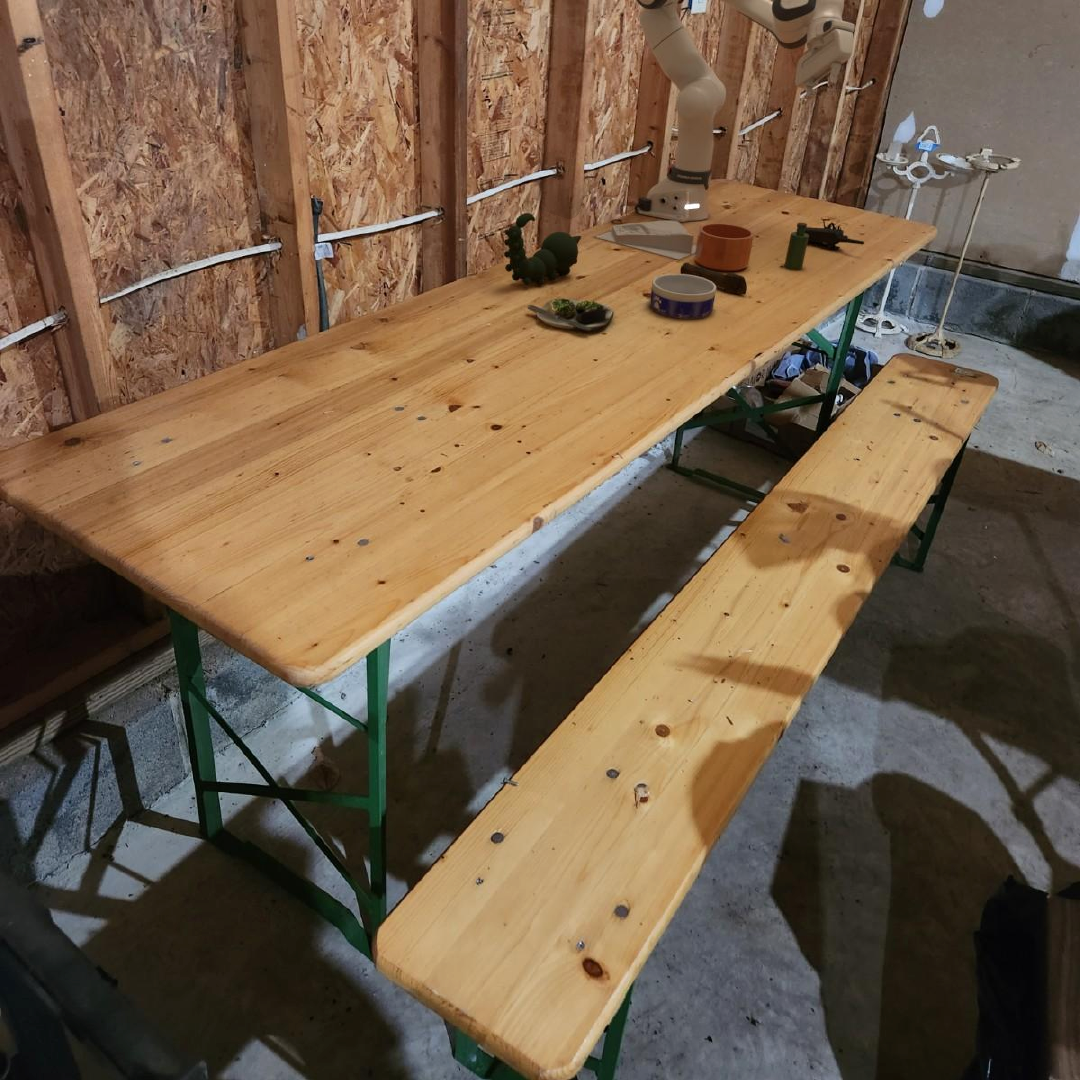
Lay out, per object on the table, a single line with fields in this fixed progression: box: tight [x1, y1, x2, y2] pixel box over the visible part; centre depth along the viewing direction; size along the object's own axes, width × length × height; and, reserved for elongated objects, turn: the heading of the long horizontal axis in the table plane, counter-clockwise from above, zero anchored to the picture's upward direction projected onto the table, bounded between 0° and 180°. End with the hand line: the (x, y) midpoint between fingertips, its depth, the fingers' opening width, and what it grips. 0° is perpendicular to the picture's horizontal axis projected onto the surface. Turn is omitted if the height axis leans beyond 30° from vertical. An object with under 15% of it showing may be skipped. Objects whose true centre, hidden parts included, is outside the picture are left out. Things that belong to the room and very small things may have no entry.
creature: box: [821, 217, 845, 234], centre depth 283 cm, size 8×5×8 cm
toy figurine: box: [503, 212, 582, 287], centre depth 230 cm, size 9×19×25 cm
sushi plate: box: [526, 297, 615, 334], centre depth 213 cm, size 19×18×5 cm
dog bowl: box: [649, 273, 717, 320], centre depth 223 cm, size 15×15×6 cm
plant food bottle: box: [783, 222, 809, 271], centre depth 252 cm, size 5×5×12 cm
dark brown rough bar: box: [679, 262, 748, 295], centre depth 237 cm, size 19×4×5 cm, turn 48°
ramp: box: [595, 220, 697, 261], centre depth 266 cm, size 28×16×5 cm, turn 53°
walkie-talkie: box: [805, 226, 865, 251], centre depth 271 cm, size 6×6×20 cm
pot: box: [694, 222, 755, 272], centre depth 252 cm, size 15×15×9 cm
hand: (821, 91), depth 243 cm, fingers open, 8 cm apart
